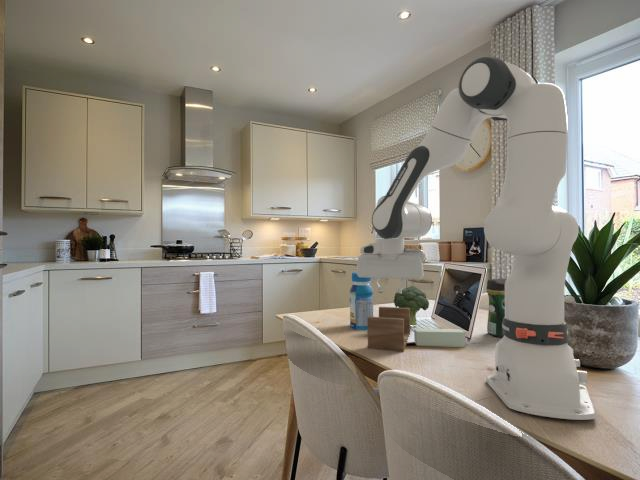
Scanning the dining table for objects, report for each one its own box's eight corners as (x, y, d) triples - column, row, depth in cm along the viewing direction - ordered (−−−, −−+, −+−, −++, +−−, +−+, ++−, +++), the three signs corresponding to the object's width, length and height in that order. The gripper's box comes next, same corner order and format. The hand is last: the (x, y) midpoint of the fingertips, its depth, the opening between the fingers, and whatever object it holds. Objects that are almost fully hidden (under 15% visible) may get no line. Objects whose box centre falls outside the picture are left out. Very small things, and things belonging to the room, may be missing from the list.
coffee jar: (510, 332, 128) (510, 277, 128) (524, 337, 120) (524, 279, 120) (483, 332, 127) (482, 277, 128) (495, 338, 120) (494, 279, 120)
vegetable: (415, 333, 126) (414, 288, 127) (385, 327, 136) (385, 285, 136) (435, 328, 134) (435, 286, 135) (405, 322, 144) (405, 283, 144)
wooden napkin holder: (403, 352, 105) (403, 319, 105) (367, 349, 108) (367, 317, 108) (410, 335, 124) (409, 308, 124) (379, 333, 127) (379, 306, 127)
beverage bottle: (366, 333, 127) (365, 273, 127) (345, 330, 132) (344, 272, 132) (378, 328, 134) (377, 272, 134) (357, 325, 139) (357, 271, 139)
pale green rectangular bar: (461, 344, 114) (461, 329, 114) (465, 347, 110) (465, 332, 110) (414, 343, 115) (414, 328, 115) (416, 346, 111) (416, 331, 111)
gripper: (425, 248, 116) (425, 293, 116) (359, 247, 122) (359, 290, 122) (424, 248, 110) (423, 296, 110) (355, 248, 116) (355, 292, 116)
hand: (389, 293), depth 116 cm, fingers open, 4 cm apart
